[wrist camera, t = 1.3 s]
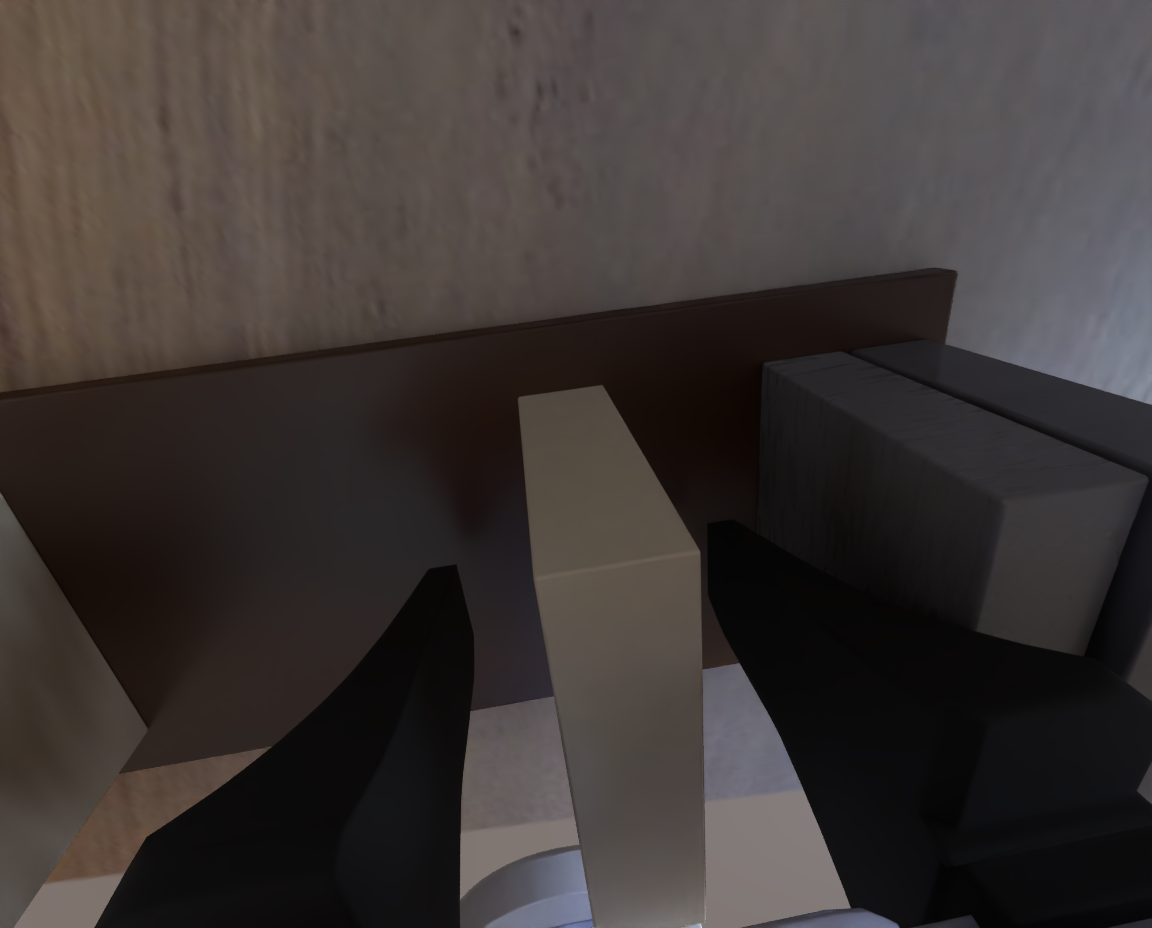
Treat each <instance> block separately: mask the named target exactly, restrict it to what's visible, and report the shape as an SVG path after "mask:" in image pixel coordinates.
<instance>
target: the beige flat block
mask: <svg viewBox="0 0 1152 928" xmlns="http://www.w3.org/2000/svg"><path fill="white" fill-rule="evenodd" d="M518 406H519V417H520V429H521V440H522V452H523V463H524V475H525V486H526V498H527V509H528V520H529V532H530V543H531V555H532V566H533V578H534V584H535V590H536V596H537V602H538V607H539V613H540V619H541V625H542V630H543V636H544V642H545V648H546V653H547V659H548V665H549V671H550V676H551V682H552V688H553V694H554V699H555V705H556V711H557V717H558V722H559V728H560V734H561V740H562V745H563V751H564V757H565V763H566V769H567V774H568V780H569V786H570V792H571V797H572V803H573V809H574V815H575V820H576V826H577V832H578V838H579V843H580V849H581V855H582V861H583V866H584V872H585V878H586V884H587V889H588V895H589V901H590V907H591V912H592V918H593V924H594V928H680V927H685V926H690V925H695V924H699V923H704V922H706V878H705V877H706V871H705V810H704V746H703V683H702V621H701V559H700V550H699V549H698V547H697V545H696V543H695V542H694V540H693V538H692V537H691V535H690V533H689V531H688V530H687V528H686V526H685V525H684V523H683V521H682V520H681V518H680V516H679V514H678V513H677V511H676V509H675V508H674V506H673V504H672V503H671V501H670V499H669V497H668V496H667V494H666V492H665V491H664V489H663V487H662V485H661V484H660V482H659V480H658V479H657V477H656V475H655V474H654V472H653V470H652V468H651V467H650V465H649V463H648V462H647V460H646V458H645V456H644V455H643V453H642V451H641V450H640V448H639V446H638V445H637V443H636V441H635V439H634V438H633V436H632V434H631V433H630V431H629V429H628V428H627V426H626V424H625V422H624V421H623V419H622V417H621V416H620V414H619V412H618V410H617V409H616V407H615V405H614V404H613V402H612V400H611V399H610V397H609V395H608V393H607V392H606V390H605V388H604V387H603V385H599V386H592V387H585V388H578V389H571V390H564V391H557V392H550V393H543V394H536V395H529V396H522V397H519V398H518Z"/></svg>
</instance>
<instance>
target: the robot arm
mask: <svg viewBox="0 0 1152 928" xmlns="http://www.w3.org/2000/svg"><path fill="white" fill-rule="evenodd" d="M707 557H708V597H709V599H710V602H711V605H712V607H713V610H714V612H715V615H716V617H717V620H718V622H719V625H720V627H721V629H722V632H723V634H724V636H725V638H726V639H727V641H728V643H729V645H730V647H731V649H732V650H733V652H734V654H735V656H736V657H737V659H738V661H739V663H740V665H741V666H742V668H743V670H744V672H745V673H746V675H747V677H748V679H749V680H750V682H751V684H752V686H753V687H754V689H755V691H756V693H757V695H758V696H759V698H760V700H761V702H762V703H763V705H764V707H765V709H766V710H767V712H768V714H769V716H770V717H771V719H772V721H773V723H774V725H775V727H776V729H777V731H778V733H779V735H780V737H781V739H782V741H783V744H784V746H785V748H786V751H787V753H788V755H789V757H790V760H791V762H792V764H793V766H794V769H795V771H796V773H797V775H798V778H799V780H800V782H801V785H802V787H803V789H804V792H805V794H806V796H807V799H808V801H809V804H810V806H811V808H812V811H813V813H814V816H815V818H816V820H817V823H818V825H819V828H820V830H821V833H822V835H823V837H824V840H825V843H826V845H827V847H828V850H829V853H830V855H831V858H832V860H833V863H834V865H835V868H836V870H837V873H838V875H839V878H840V880H841V883H842V885H843V888H844V891H845V893H846V896H847V898H848V901H849V904H850V906H851V908H850V909H833V910H822V911H818V912H813V913H808V914H803V915H799V916H794V917H789V918H785V919H780V920H775V921H770V922H766V923H761V924H756V925H751V926H747V927H742V928H1152V804H1151V803H1150V802H1149V801H1147V800H1146V799H1145V798H1144V797H1143V796H1142V795H1141V794H1140V793H1139V792H1138V791H1137V790H1138V788H1139V786H1140V784H1141V782H1142V780H1143V778H1144V776H1145V774H1146V772H1147V770H1148V768H1149V766H1150V764H1151V762H1152V701H1151V700H1149V699H1148V698H1147V697H1145V696H1144V695H1143V694H1141V693H1140V692H1139V691H1137V690H1136V689H1135V688H1133V687H1132V686H1131V685H1130V684H1128V683H1127V682H1126V681H1124V680H1123V679H1122V678H1120V677H1119V676H1118V675H1116V674H1115V673H1114V672H1112V671H1111V670H1110V669H1108V668H1107V667H1106V666H1105V665H1103V664H1102V663H1101V662H1099V661H1098V660H1096V659H1093V658H1088V657H1084V656H1079V655H1074V654H1069V653H1064V652H1060V651H1055V650H1050V649H1045V648H1041V647H1036V646H1031V645H1026V644H1022V643H1018V642H1014V641H1010V640H1006V639H1003V638H999V637H995V636H991V635H988V634H984V633H980V632H976V631H973V630H970V629H966V628H963V627H960V626H956V625H953V624H950V623H947V622H944V621H941V620H938V619H935V618H932V617H929V616H926V615H923V614H920V613H917V612H914V611H912V610H909V609H906V608H904V607H901V606H898V605H896V604H893V603H891V602H888V601H886V600H884V599H881V598H879V597H876V596H874V595H872V594H869V593H867V592H865V591H862V590H860V589H858V588H856V587H854V586H851V585H849V584H847V583H845V582H843V581H841V580H839V579H837V578H835V577H833V576H831V575H829V574H827V573H825V572H823V571H821V570H820V569H818V568H816V567H814V566H812V565H810V564H809V563H807V562H805V561H803V560H801V559H800V558H798V557H796V556H794V555H793V554H791V553H789V552H787V551H786V550H784V549H782V548H781V547H779V546H777V545H776V544H774V543H772V542H771V541H769V540H767V539H766V538H764V537H763V536H761V535H759V534H758V533H756V532H754V531H753V530H751V529H749V528H748V527H746V526H744V525H743V524H741V523H739V522H737V521H735V520H734V519H732V520H726V521H719V522H713V523H707ZM473 685H474V633H473V629H472V625H471V621H470V617H469V613H468V609H467V604H466V600H465V596H464V592H463V588H462V584H461V580H460V576H459V572H458V568H457V564H454V565H448V566H442V567H436V568H429V569H428V571H427V572H426V573H425V575H424V576H423V577H422V579H421V580H420V582H419V583H418V585H417V586H416V588H415V589H414V591H413V592H412V594H411V595H410V596H409V598H408V599H407V601H406V602H405V604H404V605H403V607H402V608H401V609H400V611H399V612H398V614H397V615H396V616H395V618H394V619H393V620H392V622H391V623H390V625H389V626H388V627H387V629H386V630H385V631H384V633H383V634H382V635H381V637H380V638H379V639H378V640H377V642H376V643H375V644H374V645H373V647H372V648H371V649H370V650H369V651H368V653H367V654H366V655H365V656H364V658H363V659H362V660H361V661H360V662H359V664H358V665H357V666H356V667H355V668H354V670H353V671H352V672H351V673H350V674H349V675H348V676H347V677H346V678H345V679H344V680H343V682H342V683H341V684H340V685H339V686H338V687H337V688H336V689H335V690H334V691H333V692H332V693H331V694H330V695H329V696H328V697H327V698H326V699H325V700H324V701H323V702H322V703H321V704H320V705H319V706H318V707H317V708H315V709H314V710H313V711H312V712H311V713H310V714H309V715H308V716H307V717H305V718H304V719H303V720H302V721H301V722H300V723H299V724H298V725H297V726H295V727H294V728H293V729H292V730H291V731H290V732H289V733H288V734H286V735H285V736H284V737H283V738H282V739H281V740H280V741H279V742H277V743H276V744H275V745H274V746H273V747H271V748H270V749H269V750H268V751H266V752H265V753H264V754H263V755H261V756H260V757H259V758H258V759H256V760H255V761H254V762H253V763H251V764H250V765H249V766H248V767H246V768H245V769H244V770H242V771H241V772H240V773H238V774H237V775H236V776H234V777H233V778H232V779H230V780H229V781H228V782H226V783H225V784H224V785H222V786H221V787H220V788H218V789H217V790H215V791H214V792H213V793H211V794H210V795H208V796H207V797H205V798H204V799H202V800H201V801H200V802H198V803H197V804H195V805H194V806H192V807H191V808H189V809H188V810H186V811H185V812H183V813H182V814H180V815H179V816H178V817H176V818H175V819H173V820H172V821H170V822H169V823H167V824H166V825H164V826H163V827H161V828H160V829H158V830H157V831H155V832H154V833H152V834H150V835H149V836H147V837H146V839H145V841H144V842H143V844H142V845H141V847H140V849H139V850H138V852H137V854H136V855H135V857H134V859H133V860H132V862H131V864H130V865H129V867H128V869H127V870H126V872H125V874H124V876H123V878H122V879H121V881H120V883H119V885H118V887H117V888H116V890H115V892H114V894H113V896H112V897H111V899H110V901H109V903H108V905H107V906H106V908H105V910H104V912H103V914H102V915H101V917H100V919H99V920H98V922H97V924H96V926H95V928H460V834H461V794H462V781H463V770H464V762H465V753H466V745H467V737H468V728H469V720H470V711H471V703H472V694H473ZM551 928H594V924H593V919H590V920H585V921H580V922H575V923H571V924H566V925H561V926H556V927H551Z"/></svg>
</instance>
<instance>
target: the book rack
mask: <svg viewBox="0 0 1152 928" xmlns="http://www.w3.org/2000/svg"><path fill="white" fill-rule="evenodd" d="M957 274H958V273H957V271H955V270H949V269H941V268H928V269H921V270H914V271H906V272H899V273H891V274H884V275H876V276H869V277H861V278H854V279H846V280H839V281H831V282H824V283H816V284H809V285H802V286H794V287H787V288H779V289H772V290H764V291H757V292H749V293H742V294H734V295H727V296H719V297H712V298H704V299H697V300H690V301H682V302H675V303H667V304H660V305H652V306H645V307H637V308H630V309H622V310H615V311H607V312H600V313H592V314H585V315H577V316H570V317H563V318H555V319H548V320H540V321H533V322H525V323H518V324H510V325H503V326H495V327H488V328H480V329H473V330H465V331H458V332H451V333H443V334H436V335H428V336H421V337H413V338H406V339H398V340H391V341H383V342H376V343H368V344H361V345H353V346H346V347H338V348H331V349H324V350H316V351H309V352H301V353H294V354H286V355H279V356H271V357H264V358H256V359H249V360H241V361H234V362H226V363H219V364H212V365H204V366H197V367H189V368H182V369H174V370H167V371H159V372H152V373H144V374H137V375H129V376H122V377H114V378H107V379H100V380H92V381H85V382H77V383H70V384H62V385H55V386H47V387H40V388H32V389H25V390H17V391H10V392H2V393H0V928H13V927H14V926H15V925H16V923H17V922H18V920H19V919H20V917H21V916H22V914H23V913H24V911H25V910H26V908H27V907H28V906H29V904H30V903H31V901H32V900H33V898H34V897H35V895H36V894H37V892H38V891H39V889H40V888H41V887H42V885H43V884H44V882H45V881H46V879H47V878H48V876H49V875H50V873H51V872H52V870H53V869H54V867H55V866H56V865H57V863H58V862H59V860H60V859H61V857H62V856H63V854H64V853H65V851H66V850H67V848H68V847H69V846H70V844H71V843H72V841H73V840H74V838H75V837H76V835H77V834H78V832H79V831H80V829H81V828H82V826H83V825H84V824H85V822H86V821H87V819H88V818H89V816H90V815H91V813H92V812H93V810H94V809H95V807H96V806H97V805H98V803H99V802H100V800H101V799H102V797H103V796H104V794H105V793H106V791H107V790H108V788H109V787H110V785H111V784H112V783H113V781H114V780H115V778H116V777H117V775H118V774H121V773H126V772H132V771H138V770H143V769H149V768H154V767H160V766H166V765H171V764H177V763H182V762H188V761H194V760H199V759H205V758H210V757H216V756H222V755H227V754H233V753H238V752H244V751H250V750H255V749H261V748H266V747H272V746H274V745H275V744H276V743H277V742H279V741H280V740H281V739H282V738H283V737H284V736H285V735H286V734H288V733H289V732H290V731H291V730H292V729H293V728H294V727H295V726H297V725H298V724H299V723H300V722H301V721H302V720H303V719H304V718H305V717H307V716H308V715H309V714H310V713H311V712H312V711H313V710H314V709H315V708H317V707H318V706H319V705H320V704H321V703H322V702H323V701H324V700H325V699H326V698H327V697H328V696H329V695H330V694H331V693H332V692H333V691H334V690H335V689H336V688H337V687H338V686H339V685H340V684H341V683H342V682H343V680H344V679H345V678H346V677H347V676H348V675H349V674H350V673H351V672H352V671H353V670H354V668H355V667H356V666H357V665H358V664H359V662H360V661H361V660H362V659H363V658H364V656H365V655H366V654H367V653H368V651H369V650H370V649H371V648H372V647H373V645H374V644H375V643H376V642H377V640H378V639H379V638H380V637H381V635H382V634H383V633H384V631H385V630H386V629H387V627H388V626H389V625H390V623H391V622H392V620H393V619H394V618H395V616H396V615H397V614H398V612H399V611H400V609H401V608H402V607H403V605H404V604H405V602H406V601H407V599H408V598H409V596H410V595H411V594H412V592H413V591H414V589H415V588H416V586H417V585H418V583H419V582H420V580H421V579H422V577H423V576H424V575H425V573H426V572H427V571H428V569H429V568H436V567H442V566H448V565H454V564H457V568H458V572H459V576H460V580H461V584H462V588H463V592H464V596H465V600H466V604H467V609H468V613H469V617H470V621H471V625H472V629H473V633H474V685H473V694H472V703H471V711H474V710H479V709H485V708H490V707H496V706H502V705H507V704H513V703H518V702H524V701H530V700H535V699H541V698H546V697H552V696H554V694H553V688H552V682H551V676H550V671H549V665H548V659H547V653H546V648H545V642H544V636H543V630H542V625H541V619H540V613H539V607H538V602H537V596H536V590H535V584H534V578H533V566H532V555H531V543H530V532H529V520H528V509H527V498H526V486H525V475H524V463H523V452H522V440H521V429H520V417H519V406H518V398H519V397H522V396H529V395H536V394H543V393H550V392H557V391H564V390H571V389H578V388H585V387H592V386H599V385H603V387H604V388H605V390H606V392H607V393H608V395H609V397H610V399H611V400H612V402H613V404H614V405H615V407H616V409H617V410H618V412H619V414H620V416H621V417H622V419H623V421H624V422H625V424H626V426H627V428H628V429H629V431H630V433H631V434H632V436H633V438H634V439H635V441H636V443H637V445H638V446H639V448H640V450H641V451H642V453H643V455H644V456H645V458H646V460H647V462H648V463H649V465H650V467H651V468H652V470H653V472H654V474H655V475H656V477H657V479H658V480H659V482H660V484H661V485H662V487H663V489H664V491H665V492H666V494H667V496H668V497H669V499H670V501H671V503H672V504H673V506H674V508H675V509H676V511H677V513H678V514H679V516H680V518H681V520H682V521H683V523H684V525H685V526H686V528H687V530H688V531H689V533H690V535H691V537H692V538H693V540H694V542H695V543H696V545H697V547H698V549H699V550H700V559H701V621H702V670H703V669H709V668H714V667H720V666H725V665H731V664H737V663H739V661H738V659H737V657H736V656H735V654H734V652H733V650H732V649H731V647H730V645H729V643H728V641H727V639H726V638H725V636H724V634H723V632H722V629H721V627H720V625H719V622H718V620H717V617H716V615H715V612H714V610H713V607H712V605H711V602H710V599H709V597H708V557H707V523H713V522H719V521H726V520H732V519H734V520H735V521H737V522H739V523H741V524H743V525H744V526H746V527H748V528H749V529H751V530H753V531H754V532H756V533H758V534H759V535H761V536H763V537H764V538H766V539H767V540H769V541H771V542H772V543H774V544H776V545H777V546H779V547H781V548H782V549H784V550H786V551H787V552H789V553H791V554H793V555H794V556H796V557H798V558H800V559H801V560H803V561H805V562H807V563H809V564H810V565H812V566H814V567H816V568H818V569H820V570H821V571H823V572H825V573H827V574H829V575H831V576H833V577H835V578H837V579H839V580H841V581H843V582H845V583H847V584H849V585H851V586H854V587H856V588H858V589H860V590H862V591H865V592H867V593H869V594H872V595H874V596H876V597H879V598H881V599H884V600H886V601H888V602H891V603H893V604H896V605H898V606H901V607H904V608H906V609H909V610H912V611H914V612H917V613H920V614H923V615H926V616H929V617H932V618H935V619H938V620H941V621H944V622H947V623H950V624H953V625H956V626H960V627H963V628H966V629H970V630H973V631H976V632H980V633H984V634H988V635H991V636H995V637H999V638H1003V639H1006V640H1010V641H1014V642H1018V643H1022V644H1026V645H1031V646H1036V647H1041V648H1045V649H1050V650H1055V651H1060V652H1064V653H1069V654H1074V655H1079V656H1084V657H1088V658H1093V659H1096V660H1098V661H1099V662H1101V663H1102V664H1103V665H1105V666H1106V667H1107V668H1108V669H1110V670H1111V671H1112V672H1114V673H1115V674H1116V675H1118V676H1119V677H1120V678H1122V679H1123V680H1124V681H1126V682H1127V683H1128V684H1130V685H1131V686H1132V687H1133V688H1135V689H1136V690H1137V691H1139V692H1140V693H1141V694H1143V695H1144V696H1145V697H1147V698H1148V699H1149V700H1151V701H1152V405H1149V404H1146V403H1143V402H1139V401H1136V400H1133V399H1129V398H1126V397H1122V396H1119V395H1116V394H1112V393H1109V392H1105V391H1102V390H1099V389H1095V388H1092V387H1089V386H1085V385H1082V384H1078V383H1075V382H1072V381H1068V380H1065V379H1062V378H1058V377H1055V376H1051V375H1048V374H1045V373H1041V372H1038V371H1034V370H1031V369H1028V368H1024V367H1021V366H1018V365H1014V364H1011V363H1007V362H1004V361H1001V360H997V359H994V358H990V357H987V356H984V355H980V354H977V353H974V352H970V351H967V350H963V349H960V348H957V347H953V346H950V345H947V344H945V343H946V337H947V331H948V326H949V320H950V314H951V309H952V303H953V297H954V291H955V286H956V280H957ZM1137 791H1138V792H1139V793H1140V794H1141V795H1142V796H1143V797H1144V798H1145V799H1146V800H1147V801H1149V802H1150V803H1151V804H1152V762H1151V764H1150V766H1149V768H1148V770H1147V772H1146V774H1145V776H1144V778H1143V780H1142V782H1141V784H1140V786H1139V788H1138V790H1137Z"/></svg>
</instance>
